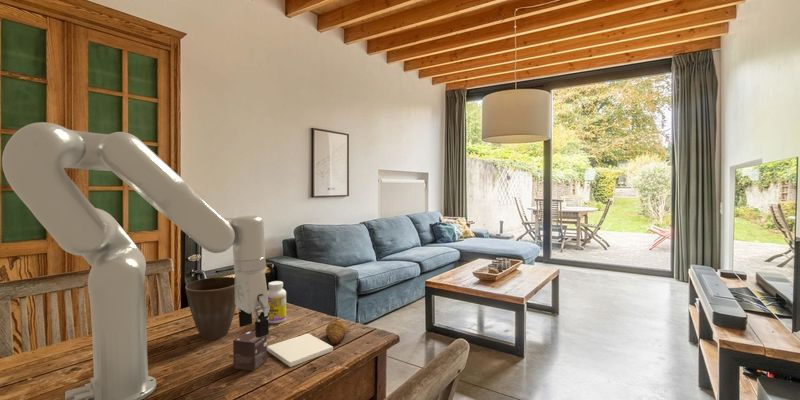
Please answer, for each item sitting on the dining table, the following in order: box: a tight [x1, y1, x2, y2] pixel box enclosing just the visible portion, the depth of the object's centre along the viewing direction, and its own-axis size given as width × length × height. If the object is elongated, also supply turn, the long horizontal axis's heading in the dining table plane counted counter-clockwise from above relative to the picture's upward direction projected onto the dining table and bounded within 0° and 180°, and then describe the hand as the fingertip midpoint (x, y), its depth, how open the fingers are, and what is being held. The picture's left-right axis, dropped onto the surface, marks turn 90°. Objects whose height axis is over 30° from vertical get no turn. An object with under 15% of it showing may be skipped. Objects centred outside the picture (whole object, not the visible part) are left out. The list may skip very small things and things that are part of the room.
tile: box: [267, 332, 334, 368], centre depth 105 cm, size 13×13×1 cm
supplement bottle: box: [267, 280, 287, 324], centre depth 128 cm, size 7×7×13 cm
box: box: [232, 331, 268, 371], centre depth 97 cm, size 6×6×7 cm
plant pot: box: [184, 276, 237, 340], centre depth 116 cm, size 15×15×16 cm
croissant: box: [325, 320, 349, 345], centre depth 115 cm, size 14×7×5 cm, turn 4°
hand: (253, 330), depth 98 cm, fingers open, 9 cm apart
